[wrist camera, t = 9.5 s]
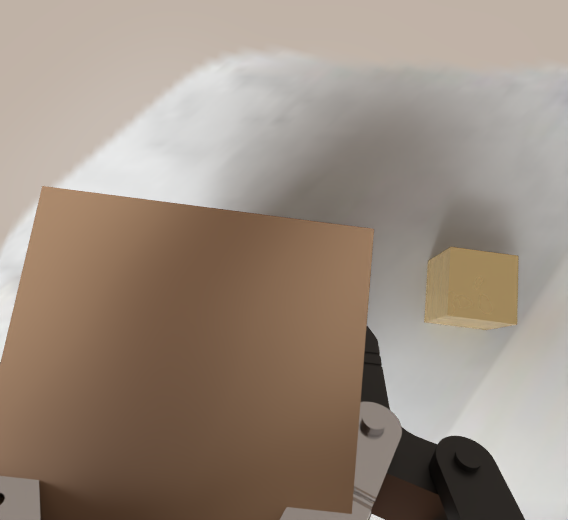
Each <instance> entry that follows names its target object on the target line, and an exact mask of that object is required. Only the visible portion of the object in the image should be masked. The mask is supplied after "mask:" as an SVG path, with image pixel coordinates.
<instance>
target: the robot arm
mask: <svg viewBox="0 0 568 520" xmlns="http://www.w3.org/2000/svg"><path fill="white" fill-rule="evenodd" d="M379 354H380V352H379V347H378V341H377V339H376V337H375V336H374V334H373V333H372V332H371V330H370V329H369V327H368V326H366V338H365V351H364V364H363V377H362V389H361V402H360V415H359V428H358V441H357V454H356V466H355V479H354V492H353V505H352V514H346V513H337V512H328V511H319V510H310V509H300V508H291V507H287V508H286V509H285V511H284V513H283V515H282V516H281V518H280V520H369V519H370V517H371V514H374V515H376V516H378V517H381V518H383V519H385V520H525V519H524V517H523V515H522V513H521V511H520V509H519V507H518V505H517V503H516V501H515V499H514V497H513V495H512V493H511V491H510V490H509V488H508V486H507V484H506V482H505V480H504V478H503V476H502V474H501V472H500V470H499V468H498V466H497V464H496V462H495V461H494V459H493V457H492V456H491V455H490V453H489V452H488V451H487V450H486V449H485V448H484V447H482V446H481V445H480V444H478V443H477V442H475V441H473V440H471V439H468V438H465V437H461V436H449V437H446V438H444V439H442V440H441V441H440V442H439V443H438V445H437V444H434V443H432V442H429V441H427V440H424V439H422V438H419V437H417V436H415V435H413V434H411V433H409V432H408V431H406V430H405V429H404V428H402V427H401V424H400V422H399V420H398V418H397V417H396V416H395V414H394V413H393V412H391V411H390V408H389V403H388V397H387V392H386V386H385V380H384V375H383V369H382V367H381V365H382V364H381V358H380V356H379ZM0 363H1V362H0ZM0 503H2V504H1V505H0V520H43V512H42V503H41V494H40V485H39V480H34V479H24V478H15V477H6V476H0Z"/></svg>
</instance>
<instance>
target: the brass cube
mask: <svg viewBox="0 0 568 520" xmlns="http://www.w3.org/2000/svg"><path fill="white" fill-rule="evenodd" d="M517 302H518V256H516V255H509V254H501V253H494V252H486V251H479V250H471V249H464V248H456V247H449V248H448V249H446V250H445V251H443V252H442V253H440V254H438V255H437V256H435V257H434V258H432V259H431V260H429V261H428V270H427V286H426V303H425V319H424V322H427V323H435V324H443V325H450V326H458V327H466V328H474V329H482V330H489V329H495V328H501V327H506V326H512V325H517Z"/></svg>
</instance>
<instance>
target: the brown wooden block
mask: <svg viewBox="0 0 568 520" xmlns="http://www.w3.org/2000/svg"><path fill="white" fill-rule="evenodd" d="M373 235H374V229H371V228H363V227H355V226H347V225H340V224H332V223H324V222H316V221H309V220H301V219H293V218H285V217H278V216H270V215H262V214H254V213H247V212H239V211H231V210H223V209H216V208H208V207H200V206H192V205H185V204H177V203H169V202H161V201H154V200H146V199H138V198H130V197H123V196H115V195H107V194H99V193H92V192H84V191H76V190H68V189H61V188H53V187H44V186H42V190H41V194H40V198H39V203H38V207H37V211H36V215H35V220H34V224H33V228H32V232H31V236H30V241H29V245H28V249H27V253H26V258H25V262H24V266H23V270H22V275H21V279H20V283H19V287H18V292H17V296H16V300H15V304H14V308H13V313H12V317H11V321H10V325H9V330H8V334H7V338H6V342H5V347H4V351H3V355H2V359H1V363H0V476H6V477H15V478H24V479H34V480H39V485H40V494H41V503H42V512H43V520H280V518H281V516H282V515H283V513H284V511H285V509H286V508H287V507H291V508H300V509H310V510H319V511H328V512H337V513H346V514H352V505H353V492H354V479H355V466H356V454H357V441H358V428H359V415H360V402H361V389H362V377H363V364H364V351H365V338H366V325H367V312H368V300H369V287H370V274H371V261H372V248H373ZM1 504H2V503H0V505H1Z"/></svg>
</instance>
